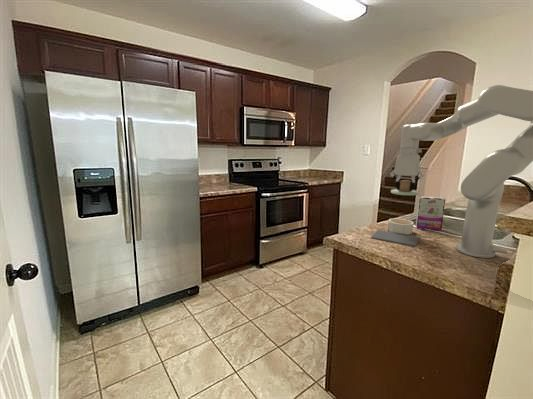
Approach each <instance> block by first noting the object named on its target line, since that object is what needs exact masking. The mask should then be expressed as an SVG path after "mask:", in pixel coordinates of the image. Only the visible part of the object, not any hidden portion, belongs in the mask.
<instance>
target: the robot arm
mask: <svg viewBox="0 0 533 399" xmlns="http://www.w3.org/2000/svg"><path fill="white" fill-rule="evenodd" d="M497 115H501V116H505V117H509V118H513V119H518V120H521V121H525V122H530V124H529V125H528V127H526V129H524V130H523V131H522V132H520V134H519V135H517V137H516V138H515V139H514V140H513V141H511V143H510V144H509V145H508V146H506V147H505V148H500V149H496V150H495V151H492V152H491V153H489V154H488V155H487V156H485V158H483V159H482V160H481V161H480V162H479V163H478V165H476V167H474V168H473V169H472V170H471V172H470V173H469V174H468V175H466V177H465V178H464V179H463V180H462V182H461V185H460V191H461V194H462V195H463V196H464V197H465V198H466V199H468V200H467V204H466V210H465V215H464V216H465V217H464V220H463V221H464V222H463V228H462V235H461V240H460V243H458V244H455V250H456V251H457V252H459V253H462V254H464V255H467V256H470V257H474V258H481V259H491V258H494V257H496V253H500V254H504V255H507V254H508V248H504V247H503V246H499V245H498V246H497V245H495V244H493V238H494V234H495V228H496V225H497V224H496V223H497V218H498V215H499V214H498V213H499V208H500V204H501V200H502V198H503V196H504V190H505V182H506V181H507V180H508V179H509V178H510V177H512V176H516V175H519V174H521V173H522V172H523V171H525V169H526V168H527V167H528V166H530V164H532V162H533V90H528V89H524V88H518V87H511V86H506V85H503V84H495V85H491V86H489V87H488V88H485V89H484V90H483V91H482V92H481V93H480V94H479V97H478V98H476V99H472V100H471V101H468V102H466V103H463V104H462V105H460V106H459V107H458V108H457V109H456V111H455V113H454V114H453V115H450V117H447V118H446V119H444V120H441V121H438V122H422V123H415V124H413V123H412V124H405V125H402V128H401V132H400V133H401V134H400V144H399V145H400V147H399V154H397V157H396V161H395V166H394V169H392V171H391V172H390V173H389V176H390V177H392V178H393V180H394V181H395V182H396V184H395V189H397V190H399V185H400V180H401V177H410V178H411V181H412V183H411V187H410V191H412V190H415V186H416V182H417V181H419V180H420V179H422V178H424V177H425V175H424V173H423V171H421V168H420V165H421V158H420V157H421V155H420V154H419V153H422V152H423V151H422V150H423V149H421V148H419V144H420V141H430V142H431V141H438V140H441V139H444V138H446V137H449V136H452V135H454V134H457V133H459V132H461V131H463V130H465V129H466V128H468V127H470V126H472V125H474V124H478V123H481V122H483V121H484V120H485V121H486V120H488V119H490V118H493V117H495V116H497Z"/></svg>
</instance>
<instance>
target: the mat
mask: <svg viewBox="0 0 533 399" xmlns="http://www.w3.org/2000/svg"><path fill="white" fill-rule="evenodd" d="M371 239H373V240H379V241H383V242H384V241H385V242H389V243H394V244H398V245H404V246H410V247H414V248H416V247H417V246H418V245H417V244H418V242H419V240H418V239H420V236H417V235H416V236H415V235H412V234H409V235H405V234H400V233H394V232H390V231H388V230H380V229H377V230H376V231H375V232H374V233H373V234H372V236H371Z"/></svg>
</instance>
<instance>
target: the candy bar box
mask: <svg viewBox="0 0 533 399" xmlns="http://www.w3.org/2000/svg"><path fill="white" fill-rule="evenodd" d="M445 204H446V198H444V197H443V196H442V197H441V196H428V195H427V196H425V195H424V196H423V195H418V200H417V210H416V219H415V227H416V229H419V228H420V230H429V229H430V231H431V230H432V231H440V232H441V231H442V228H443V220H444V213H445Z"/></svg>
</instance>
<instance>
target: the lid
mask: <svg viewBox="0 0 533 399" xmlns="http://www.w3.org/2000/svg"><path fill="white" fill-rule="evenodd" d="M411 183H412V180H408V179H407V180H406V179H403V180H401V179H400V185H399V190H397V188H394V189H390V193H391V194H393V195H400V196H420V195H419V194H420V192H419V191H417V190H415V189H413V190H412V191H410V187H411Z"/></svg>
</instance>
